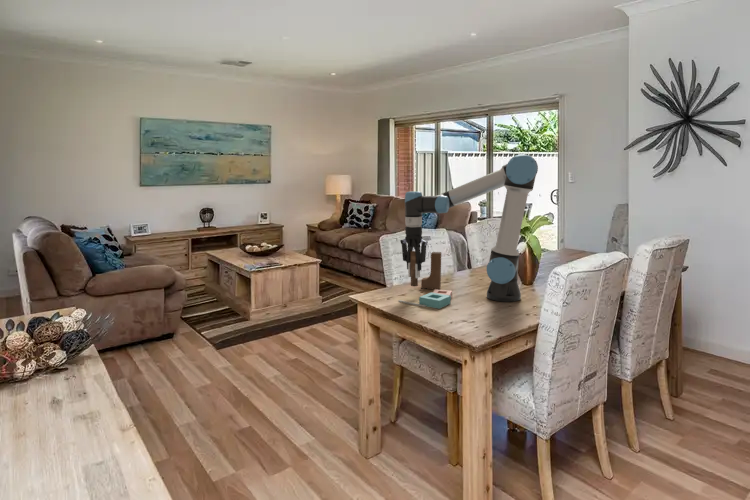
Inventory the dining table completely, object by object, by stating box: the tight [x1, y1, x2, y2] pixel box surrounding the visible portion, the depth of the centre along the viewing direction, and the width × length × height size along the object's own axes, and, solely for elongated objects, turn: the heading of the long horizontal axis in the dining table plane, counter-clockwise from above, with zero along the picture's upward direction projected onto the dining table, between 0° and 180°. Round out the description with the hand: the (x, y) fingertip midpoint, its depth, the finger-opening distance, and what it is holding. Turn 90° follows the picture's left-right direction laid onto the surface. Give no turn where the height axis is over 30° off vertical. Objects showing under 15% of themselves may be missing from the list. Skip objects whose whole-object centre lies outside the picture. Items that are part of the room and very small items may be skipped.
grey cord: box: [398, 299, 427, 308], centre depth 216 cm, size 14×1×1 cm, turn 54°
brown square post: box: [410, 250, 419, 287], centre depth 225 cm, size 3×3×16 cm
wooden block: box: [420, 251, 442, 290], centre depth 243 cm, size 9×4×18 cm, turn 74°
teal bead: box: [418, 292, 452, 309], centre depth 216 cm, size 10×10×4 cm
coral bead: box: [432, 289, 453, 299], centre depth 225 cm, size 8×8×3 cm
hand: (414, 276), depth 225 cm, fingers closed on brown square post, 3 cm apart
